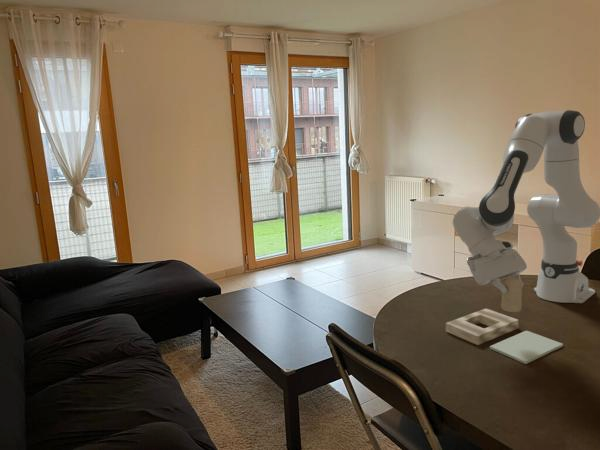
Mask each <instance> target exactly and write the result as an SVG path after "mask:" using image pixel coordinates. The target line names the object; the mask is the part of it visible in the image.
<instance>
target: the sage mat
mask: <svg viewBox="0 0 600 450" xmlns="http://www.w3.org/2000/svg"><path fill="white" fill-rule="evenodd" d="M563 346H564V343H562V342H559V341H557V340H554V339H550V338H549V337H546V336H543V335H540V334H538V333H534V332H532V331H529V330H524V331H522V332H520V333H517V334H515V335H513V336H510V337H508V338H506V339H503V340H501V341H498V342H496V343H494V344H492V345H490V346H489V350H492V351H494V352H497V353H499V354H501V355H504V356H505V357H506V356H507V357H508V358H511V359H513V360H515V361H517V362H520V363H522V364H525V365H526V364H529V363H531V362H533V361H536V360H537V359H539V358H541V357H543V356H546V355H548V354H549V353H551V352H554V351H557V350H558V349H560V348H562V347H563Z"/></svg>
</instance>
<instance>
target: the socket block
mask: <svg viewBox="0 0 600 450" xmlns="http://www.w3.org/2000/svg"><path fill="white" fill-rule="evenodd" d="M519 321H520V320H519V319H517V318H514V317H512V316H508V315H506V314H503V313H500V312H497V311H494V310H492V309H489V308H483V309H480V310H478V311H475V312H471V313H469V314H467V315H464V316H461V317H458V318H456V319H453V320H450V321H447V322H445V332H447V333H449V334H451V335H454V336H456V337H458V338H460V339H463V340H465V341H467V342H470V344H471V343H472V344H473V345H474V344H475V345H477V346H479V345H482V344H484V343H486V342H488V341H491V340H493V339H496V338H498V337H500V336H501V337H502V336H503V335H505V334H508V333H510V332H513V331H516V330H517V329H519ZM478 324H482V325H485V326H487V327H485V328H483V327H481V326H479V325H478Z"/></svg>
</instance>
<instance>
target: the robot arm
mask: <svg viewBox="0 0 600 450" xmlns="http://www.w3.org/2000/svg"><path fill="white" fill-rule="evenodd" d="M585 126H586V122H585V118H584V116H583V114H582V113H580V111H576V110H571V109H570V110H569V109H568V110H549V111H548V110H547V111H542V112H537V113H528V114H525V115H522V116H521V117H520V118H518V120H517V121H516V123H515V126H514V130H513V132H512V133H511V136H510V137H509V140H508V142H507V144H506V146H505V151H504V155H503V160H502V166H501V167H502V168H501V169H500V172H499V175H497V179H496V181H495V183H494V185H493V186H492V188H491V189H490V191H488V192H487V193H486V194H485V195H484V196H483V197H482V198H481V200H480V202H479V204H478V206H472V207H471V206H465V207H462V208H460V210H458V211H457V212H456V213H455V214H454V216H453V218H452V225H453V228H454V230H455V232H456V234H457V235H458V237H459V238H460V240H461V241H462V242H463V243H464V244H465V245H466V246H467V249H468V251H469V253H470V255H471V256H469V257H468V258H467V260H466V263H467V264H466V265H468V268H469V271H470V272H471V274H472V276H473V278H474V280H475V282H476V284H478V285H480V286H484V285H487V284H490V283H491V284H492V285H493V286H494V287H495V288H497V289H498V290H499V291H500V292H501V294H502V293H506V292H508V291H509V288H508V287H507V286H506V285H505V286H504V285H503V284H502V282H501V280H503V279H506V278H507V277H515V278H517V279H518V280H519V281H521V282H522V288H523V287H524V285H525V284H524V283H523V281H522V279H521V273H522V272H524V271H525V270H526V269H527V268H528V267H527V263H526V261H525V259H524V258H523V257H522V256H521V254H520V253H519V252H518V251H517V250H516V249H514V245H513V243H512V242H510V241H505V240H500V239H496V237H497V236H499V235H502V234H506V233H507V232H508V231H509V230H511V228H513V225H514V219H515V210H516V202H515V193H516V191H517V189H518V187H519V184H520V181H521V179H522V177H523V175H524V174H526V173H529V172H532V171H533V170H534V169H535V168H536V166H537V165H538V163H539V161H540V159H541V157H542V155H543V159H544V160H543V165H544V166H543V168H544V170H543V171H544V173H543V174H544V177H543V178H544V180H545V183H546V184H548V186H550V187H551V188H553V190H554V191H555V192H556V194H557V195H556V194H540V195H539V194H538V195H534V196H532V198H530V200H529V201H528V203H527V206H526V212H527V215H528V217H529V218H530V219H531V220H532V221H534V223H535V225H536V226H537V227H538V230H539V231H540V235H541V237H542V247H543V249H542V252H543V253H542V259H541V263H540V265H541V266H540V267H541V268H540V269H541V270H540V271H538V276H537V282H536V287H535V286H534V288H533V291H534V292H536V295H537V297H538V298H540V299H543V300H546V301H548V302H554V303H563V304H564V303H565V304H567V303H570V304H571V303H574V304H583V303H585V302H586V301H587V300H588V299H590V297H592V296H593V295H595V293H596V290H595V289H594V288H591V287H589V278H588V277H587V276H586V275H585V274H583V273H582V272H580V268H579V267H581V266H583V260H578V259H577V253H578V242H577V240H576V239H575V237H574V236H572V235H571V234H569V232H568V231H567V229H566V227H568V228H569V227H570V228H575V229H583V228H584V229H585V228H592V227H593V226H595V225H596V224H597V223H598V222H599V220H600V205H599V204H598V203H597V201H595V200H594V199H593V198H591V197H590V195H589V194H588V193H587V192H586V190H585V188H584V186H583V183H582V180H581V175H580V173H581V172H580V149H579V148H580V147H579V141H578V140H580V138H581V137H582V136H583V134H584V132H585V128H586V127H585ZM543 152H544V153H543Z"/></svg>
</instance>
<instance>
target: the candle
mask: <svg viewBox="0 0 600 450" xmlns="http://www.w3.org/2000/svg"><path fill="white" fill-rule="evenodd" d="M521 281H522V280H521ZM521 281H519V280H518V279H517V278H515V277H511V276H509V277H506V278H504V280H503V279H502V282H501V283H502V284H503V285H504V286H505V285H506V286H507V287H508V288H509V291H508V292H506V293H502V292H501V309H502V310H503V311H505V312H508V313H509V312H510V313H518V312H520V311H521V310H522V294H523V287H522V283H523V281H522V282H521Z"/></svg>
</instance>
